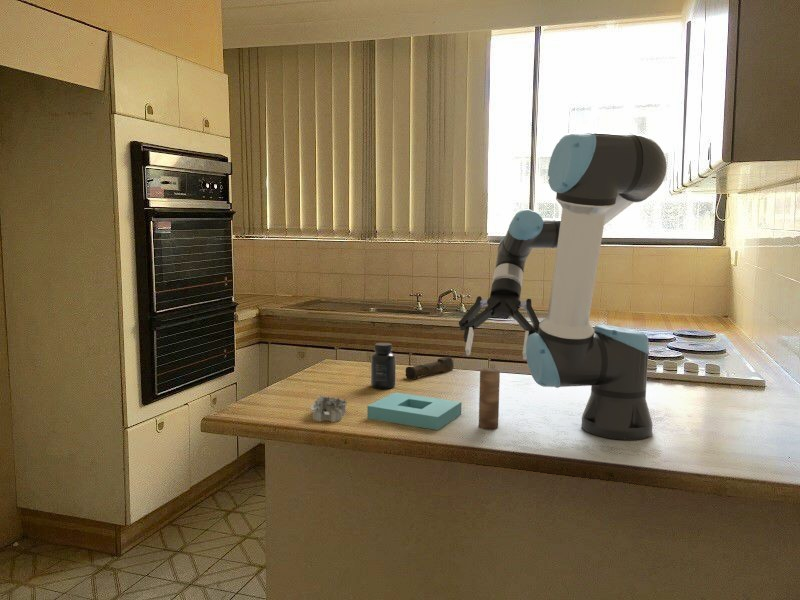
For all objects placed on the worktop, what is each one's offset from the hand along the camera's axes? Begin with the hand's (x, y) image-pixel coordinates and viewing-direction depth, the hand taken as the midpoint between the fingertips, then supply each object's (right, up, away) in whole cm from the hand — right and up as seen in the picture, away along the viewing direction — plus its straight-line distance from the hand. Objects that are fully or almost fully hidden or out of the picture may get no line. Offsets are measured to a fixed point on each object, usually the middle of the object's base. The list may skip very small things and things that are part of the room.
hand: (495, 354), depth 158 cm
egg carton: (-40, -15, 0) cm, 42 cm away
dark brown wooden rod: (-14, -10, +43) cm, 46 cm away
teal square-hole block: (-19, -15, 0) cm, 24 cm away
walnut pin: (-3, -16, -8) cm, 18 cm away
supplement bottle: (-27, -11, +27) cm, 40 cm away
